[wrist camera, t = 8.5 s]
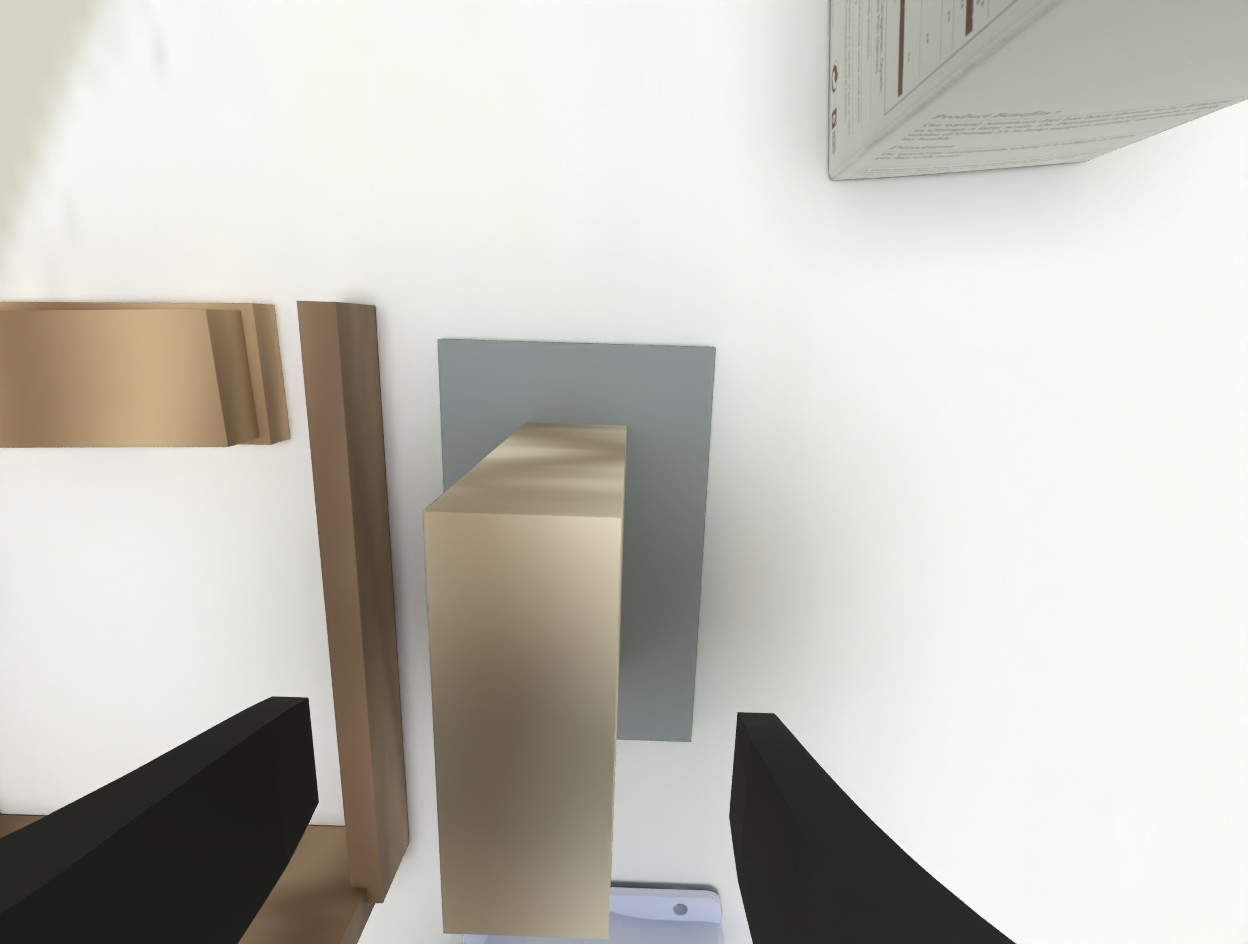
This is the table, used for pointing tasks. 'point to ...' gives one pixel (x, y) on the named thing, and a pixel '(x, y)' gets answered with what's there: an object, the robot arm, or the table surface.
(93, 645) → the table surface
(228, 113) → the table surface
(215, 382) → the upper oak offcut
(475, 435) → the slate mat
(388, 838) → the walnut rack
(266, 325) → the lower oak offcut
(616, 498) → the light wood block
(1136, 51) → the supplement box
